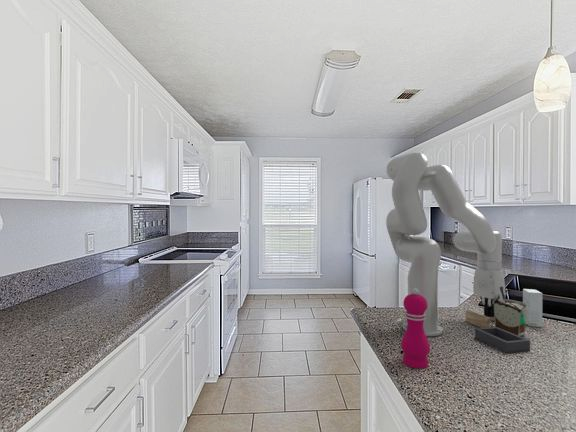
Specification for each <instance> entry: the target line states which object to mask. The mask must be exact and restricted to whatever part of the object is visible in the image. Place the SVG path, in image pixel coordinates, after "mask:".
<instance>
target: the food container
mask: <svg viewBox="0 0 576 432" xmlns="http://www.w3.org/2000/svg"><path fill="white" fill-rule="evenodd" d="M492 304H494V316H495V321H494V327H498V328H500V329H503V330H505V331H508V332H510V333H513V334H515V335H518V336H520V337H523V338H525V332H526V325H527V324H526V316H527V314H529V308H528V306H527V304H525V303H523V301H518V300H514V299H508V298H503V302H499V301H497V299H493V302H492Z"/></svg>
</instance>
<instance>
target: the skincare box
mask: <svg viewBox="0 0 576 432" xmlns="http://www.w3.org/2000/svg"><path fill="white" fill-rule="evenodd" d="M522 303H525V304H527V306H528V308H529V314H527V316H526V325H527V326H528V327H537V328H538V327H539V328H542V327H543V292H540V291H539V290H537V289H532V288H530V289H529V288H523V289H522Z"/></svg>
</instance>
